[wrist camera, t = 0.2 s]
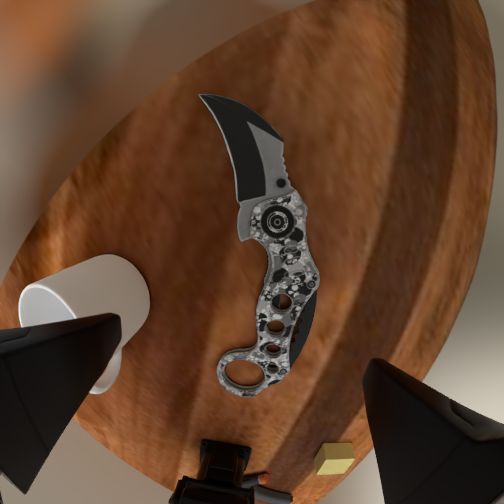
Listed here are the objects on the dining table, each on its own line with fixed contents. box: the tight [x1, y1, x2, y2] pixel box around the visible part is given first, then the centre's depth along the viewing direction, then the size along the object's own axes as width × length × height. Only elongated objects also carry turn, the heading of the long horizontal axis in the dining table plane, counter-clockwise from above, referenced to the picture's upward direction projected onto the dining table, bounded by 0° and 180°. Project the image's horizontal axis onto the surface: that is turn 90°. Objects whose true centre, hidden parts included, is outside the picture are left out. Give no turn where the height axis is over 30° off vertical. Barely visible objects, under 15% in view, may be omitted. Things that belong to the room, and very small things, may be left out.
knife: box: [198, 94, 320, 397], centre depth 22 cm, size 28×2×10 cm
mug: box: [19, 254, 150, 394], centre depth 20 cm, size 12×8×10 cm
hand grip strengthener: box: [242, 474, 293, 504], centre depth 29 cm, size 2×12×15 cm
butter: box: [314, 443, 355, 475], centre depth 26 cm, size 4×4×3 cm
